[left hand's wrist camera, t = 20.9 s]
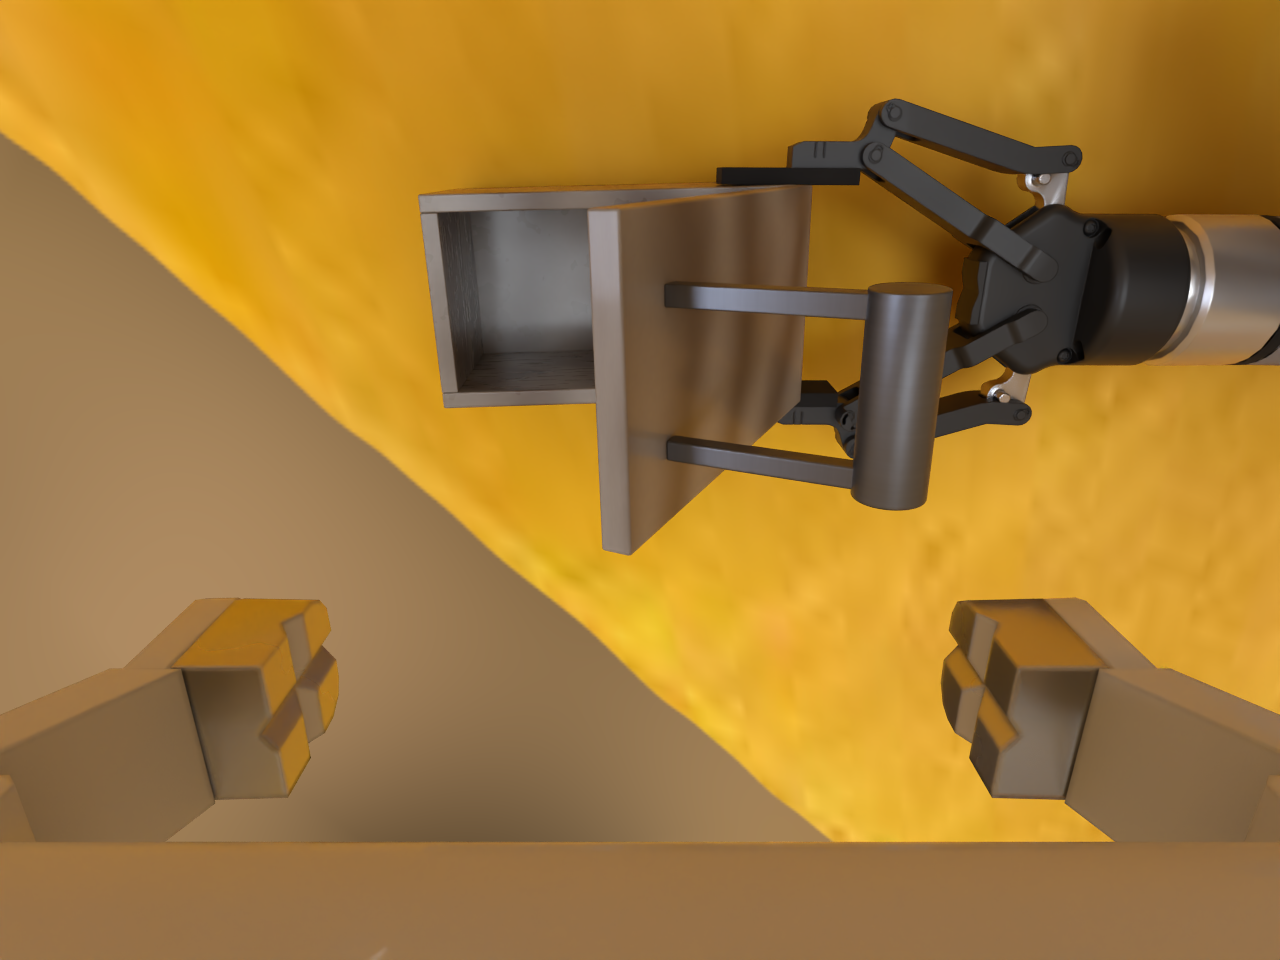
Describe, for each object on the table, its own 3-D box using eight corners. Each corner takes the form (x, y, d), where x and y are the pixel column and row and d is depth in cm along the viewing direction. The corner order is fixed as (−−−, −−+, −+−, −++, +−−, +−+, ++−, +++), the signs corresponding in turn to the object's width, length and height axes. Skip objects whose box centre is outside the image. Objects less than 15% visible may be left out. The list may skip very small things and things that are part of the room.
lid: (601, 550, 24) (899, 616, 20) (585, 208, 20) (948, 209, 17) (780, 399, 39) (972, 420, 35) (790, 185, 35) (1007, 182, 31)
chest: (474, 363, 48) (443, 408, 39) (455, 188, 44) (417, 194, 35) (755, 355, 48) (788, 397, 39) (761, 181, 44) (798, 184, 36)
